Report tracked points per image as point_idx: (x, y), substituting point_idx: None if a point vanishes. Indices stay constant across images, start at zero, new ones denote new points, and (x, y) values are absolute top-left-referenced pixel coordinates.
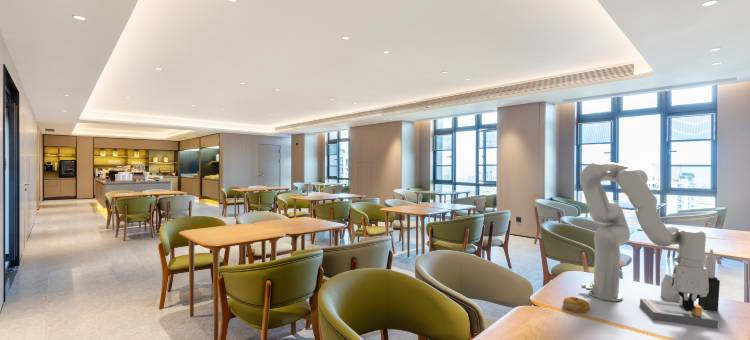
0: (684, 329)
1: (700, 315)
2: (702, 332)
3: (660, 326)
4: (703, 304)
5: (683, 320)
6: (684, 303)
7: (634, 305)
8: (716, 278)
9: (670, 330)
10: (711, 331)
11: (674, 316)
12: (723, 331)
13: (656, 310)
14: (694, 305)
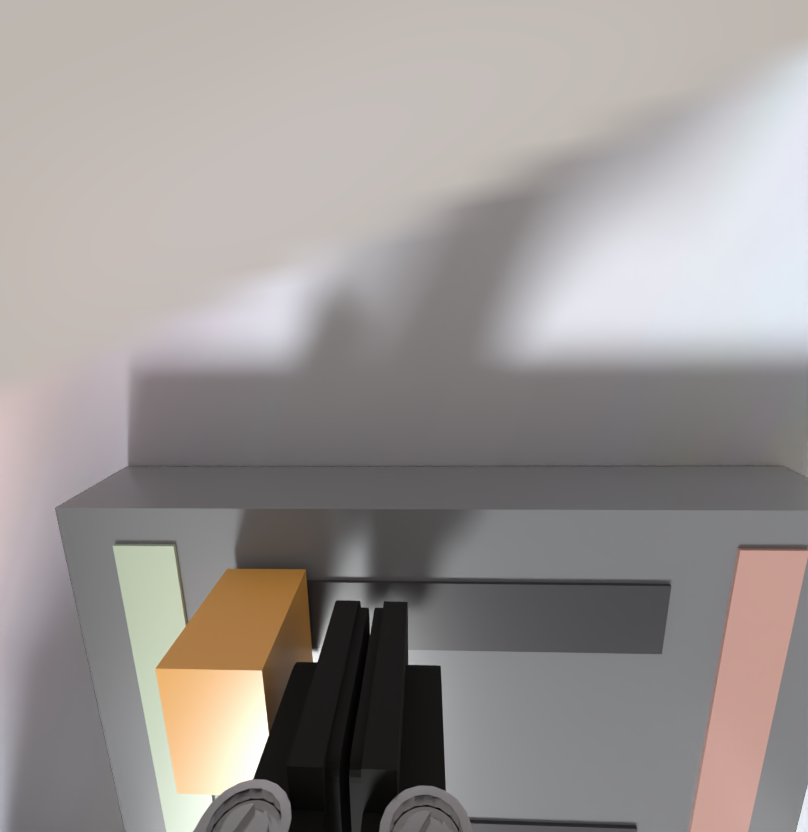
0: (522, 294)
1: (236, 575)
2: (338, 281)
3: (801, 277)
4: None
5: (463, 484)
6: (441, 725)
7: None
8: None
9: (732, 181)
10: (222, 357)
11: (580, 499)
12: (94, 409)
13: (791, 589)
14: (257, 728)
